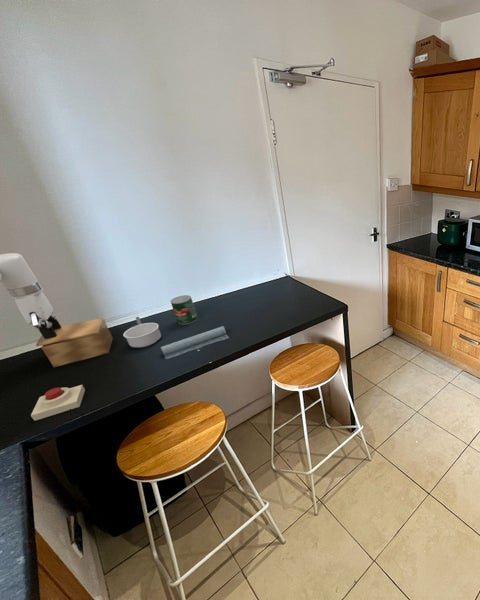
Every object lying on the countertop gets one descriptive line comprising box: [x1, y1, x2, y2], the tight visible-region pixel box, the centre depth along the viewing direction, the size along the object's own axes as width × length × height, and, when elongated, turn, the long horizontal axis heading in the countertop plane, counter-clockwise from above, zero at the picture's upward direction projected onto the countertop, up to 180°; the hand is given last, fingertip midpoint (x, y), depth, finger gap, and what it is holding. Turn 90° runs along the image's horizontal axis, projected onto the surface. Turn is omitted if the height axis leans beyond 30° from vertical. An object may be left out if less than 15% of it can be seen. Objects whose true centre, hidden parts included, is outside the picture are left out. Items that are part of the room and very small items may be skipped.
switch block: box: [30, 384, 86, 421], centre depth 97 cm, size 10×9×4 cm
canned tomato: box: [169, 294, 199, 326], centre depth 142 cm, size 8×8×11 cm
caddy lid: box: [35, 317, 105, 347], centre depth 117 cm, size 16×13×5 cm
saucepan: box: [123, 316, 162, 348], centre depth 130 cm, size 12×20×6 cm, turn 42°
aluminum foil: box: [160, 325, 230, 360], centre depth 126 cm, size 23×7×3 cm, turn 133°
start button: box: [44, 387, 64, 400], centre depth 96 cm, size 4×4×2 cm
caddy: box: [41, 319, 114, 368], centre depth 121 cm, size 16×13×9 cm
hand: (53, 332), depth 115 cm, fingers closed on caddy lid, 5 cm apart
